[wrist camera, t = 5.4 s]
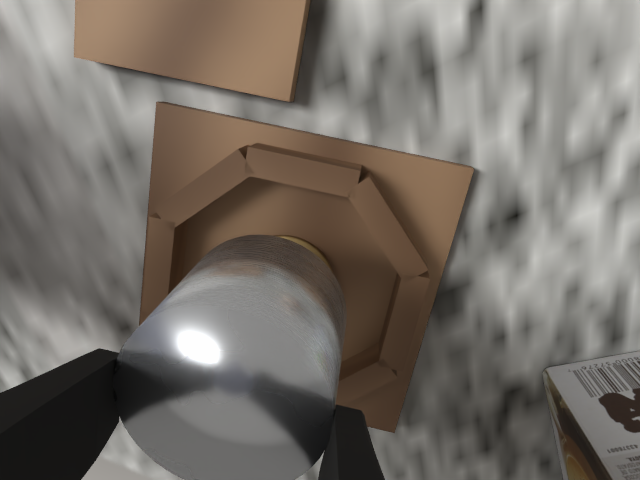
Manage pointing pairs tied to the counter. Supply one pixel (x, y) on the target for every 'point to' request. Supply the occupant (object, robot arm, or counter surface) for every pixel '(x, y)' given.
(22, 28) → the counter surface
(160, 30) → the walnut stand
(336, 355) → the silver metal canister
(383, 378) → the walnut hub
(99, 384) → the robot arm
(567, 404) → the coffee box
